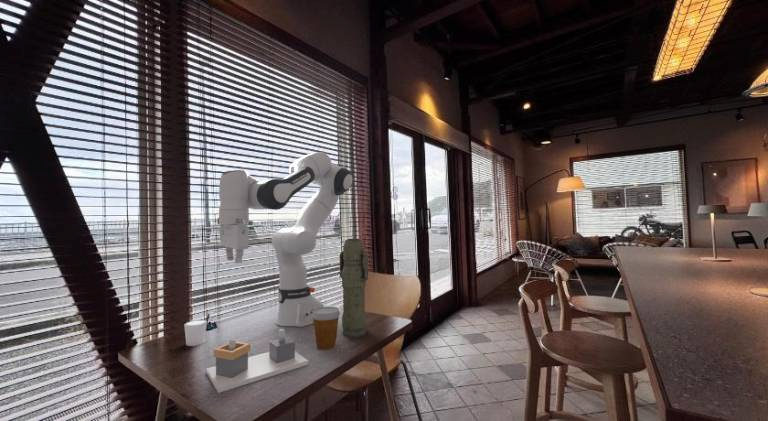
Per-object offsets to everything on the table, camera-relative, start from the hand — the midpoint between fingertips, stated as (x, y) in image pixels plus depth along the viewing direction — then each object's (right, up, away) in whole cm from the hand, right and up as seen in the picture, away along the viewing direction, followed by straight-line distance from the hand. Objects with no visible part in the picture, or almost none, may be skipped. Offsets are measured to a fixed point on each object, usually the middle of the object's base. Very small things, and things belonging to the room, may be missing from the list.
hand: (234, 261), depth 107 cm
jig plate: (+13, -29, -13) cm, 34 cm away
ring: (+7, -23, -17) cm, 29 cm away
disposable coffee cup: (+29, -29, +3) cm, 41 cm away
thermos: (+38, -29, +15) cm, 50 cm away
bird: (-21, -31, +24) cm, 45 cm away
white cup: (-17, -30, +8) cm, 35 cm away
